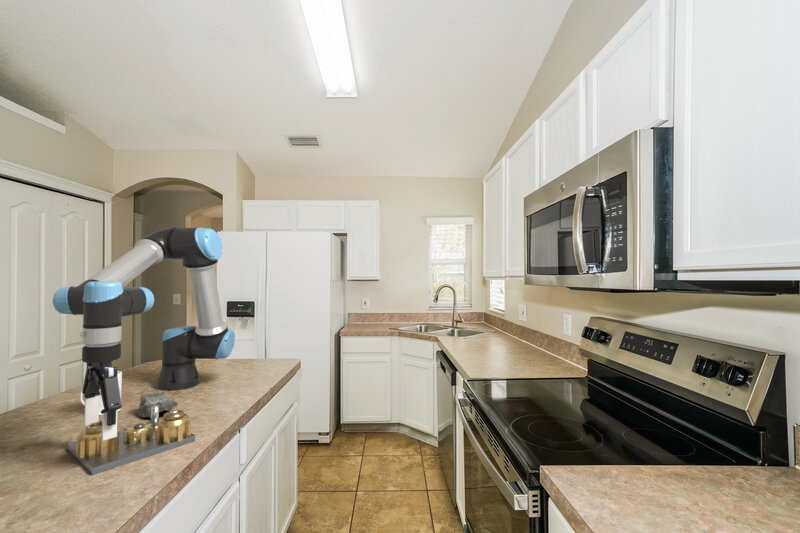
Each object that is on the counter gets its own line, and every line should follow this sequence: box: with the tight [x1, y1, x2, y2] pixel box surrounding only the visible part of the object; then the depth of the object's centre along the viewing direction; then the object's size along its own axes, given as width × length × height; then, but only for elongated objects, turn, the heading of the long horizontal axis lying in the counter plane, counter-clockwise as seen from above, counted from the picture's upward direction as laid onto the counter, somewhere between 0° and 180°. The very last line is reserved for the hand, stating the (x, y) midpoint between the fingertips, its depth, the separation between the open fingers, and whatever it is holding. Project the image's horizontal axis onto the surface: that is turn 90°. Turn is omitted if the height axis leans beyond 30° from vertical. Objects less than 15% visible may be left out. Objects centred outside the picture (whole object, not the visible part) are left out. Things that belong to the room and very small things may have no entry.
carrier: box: [67, 405, 196, 476], centre depth 98 cm, size 22×21×8 cm
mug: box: [79, 370, 123, 416], centre depth 121 cm, size 12×8×12 cm
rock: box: [138, 390, 178, 419], centre depth 120 cm, size 13×9×6 cm, turn 66°
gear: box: [75, 420, 120, 458], centre depth 92 cm, size 8×8×6 cm
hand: (100, 430), depth 92 cm, fingers open, 13 cm apart
